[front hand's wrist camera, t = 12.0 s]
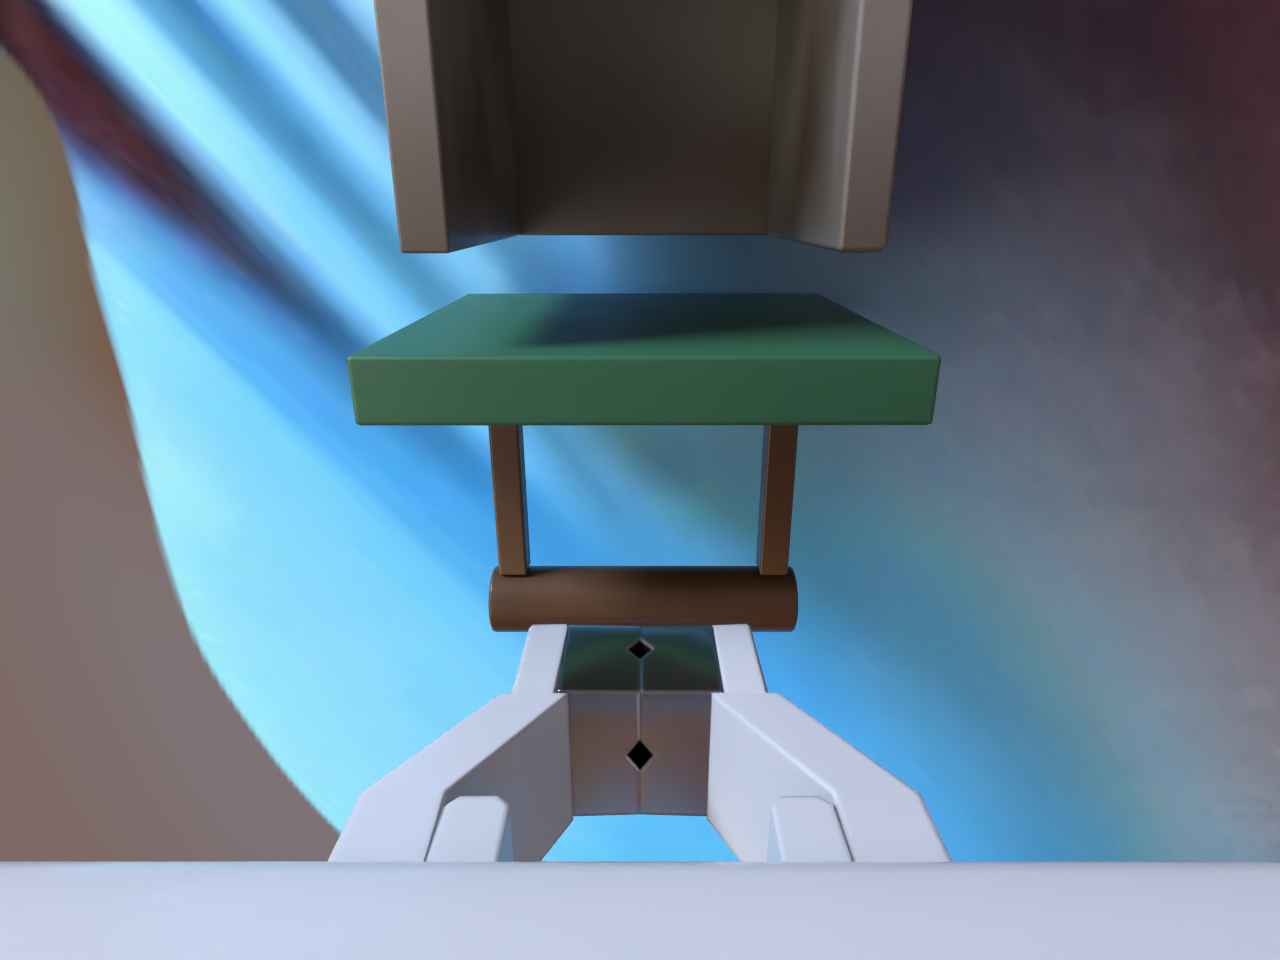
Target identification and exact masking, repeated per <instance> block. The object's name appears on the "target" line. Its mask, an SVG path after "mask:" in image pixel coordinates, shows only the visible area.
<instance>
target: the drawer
mask: <svg viewBox="0 0 1280 960" xmlns="http://www.w3.org/2000/svg"><path fill="white" fill-rule="evenodd" d="M912 9H913V0H374V10H375V19H376V28H377V37H378V47H379V56H380V65H381V75H382V84H383V93H384V103H385V112H386V121H387V130H388V140H389V149H390V158H391V168H392V177H393V186H394V195H395V205H396V214H397V223H398V233H399V242H400V250H401V252H402V253H450V252H454V251H458V250H462V249H466V248H470V247H474V246H478V245H482V244H486V243H490V242H494V241H498V240H502V239H506V238H510V237H514V236H518V235H771V236H775V237H780V238H784V239H788V240H792V241H796V242H801V243H805V244H809V245H813V246H817V247H822V248H826V249H830V250H834V251H838V252H882V251H885V249H886V247H887V240H888V230H889V221H890V212H891V203H892V194H893V184H894V175H895V166H896V157H897V147H898V138H899V129H900V120H901V110H902V101H903V92H904V83H905V73H906V64H907V55H908V46H909V36H910V27H911V18H912ZM940 362H941V359H940V356H939V355H937V354H935V353H933V352H931V351H929V350H927V349H925V348H923V347H921V346H919V345H917V344H915V343H913V342H911V341H909V340H907V339H905V338H903V337H901V336H899V335H897V334H895V333H894V332H892V331H890V330H888V329H886V328H884V327H882V326H880V325H878V324H876V323H874V322H872V321H870V320H868V319H866V318H864V317H862V316H860V315H858V314H856V313H854V312H852V311H850V310H848V309H846V308H844V307H842V306H840V305H838V304H836V303H834V302H832V301H830V300H828V299H826V298H824V297H823V296H821V295H819V294H468V295H466V296H464V297H462V298H460V299H458V300H456V301H454V302H452V303H450V304H449V305H447V306H445V307H443V308H441V309H439V310H437V311H435V312H433V313H431V314H429V315H427V316H425V317H423V318H422V319H420V320H418V321H416V322H414V323H412V324H410V325H408V326H406V327H404V328H402V329H400V330H398V331H396V332H394V333H393V334H391V335H389V336H387V337H385V338H383V339H381V340H379V341H377V342H375V343H373V344H371V345H369V346H367V347H366V348H364V349H362V350H360V351H358V352H356V353H354V354H352V355H350V356H348V359H347V364H348V371H349V378H350V385H351V393H352V400H353V407H354V414H355V421H356V423H357V424H359V425H488V426H489V439H490V453H491V466H492V480H493V493H494V507H495V520H496V534H497V547H498V561H499V566H497V567H495V568H494V570H493V573H492V576H491V581H490V588H489V618H490V623H491V627H492V629H493V630H494V631H496V632H528V630H529V628H530V627H531V626H532V625H537V624H567V625H568V626H569V625H617V626H640V627H649V626H689V625H728V624H748V625H749V626H750V627H751V631H752V632H791V631H793V630H794V629H795V626H796V622H797V616H798V590H797V582H796V577H795V574H794V571H793V569H792V568H791V567H790V566H788V558H789V544H790V531H791V518H792V504H793V491H794V478H795V464H796V451H797V437H798V425H928V424H931V422H932V420H933V413H934V405H935V398H936V391H937V384H938V377H939V369H940ZM522 425H764V436H763V453H762V470H761V487H760V504H759V522H758V539H757V556H756V564H757V566H529V565H530V547H529V530H528V513H527V495H526V478H525V461H524V444H523V426H522Z"/></svg>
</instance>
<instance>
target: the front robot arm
mask: <svg viewBox="0 0 1280 960" xmlns="http://www.w3.org/2000/svg"><path fill="white" fill-rule="evenodd" d="M630 814H648V815H684V816H707V820H708V821H709V822H710V824H711V825H712V826H713V828H714V829H715V830H716V831H717V833H718V834H719V835H720V836H721V838H722V839H723V840H724V842H725V843H726V844H727V845H728V847H729V848H730V849H731V850H732V852H733V853H734V854H735V856H736V857H737V858H738V859H739V861H740V862H540V861H541V860H542V859H543V857H544V856H545V855H546V854H547V852H548V851H549V850H550V849H551V847H552V846H553V845H554V844H555V842H556V841H557V840H558V838H559V837H560V836H561V835H562V833H563V832H564V831H565V830H566V828H567V827H568V826H569V824H570V823H571V822H572V821H573V816H595V815H630ZM0 960H1280V862H952V860H951V858H950V856H949V854H948V851H947V849H946V847H945V845H944V843H943V841H942V839H941V837H940V835H939V833H938V830H937V828H936V826H935V824H934V822H933V820H932V818H931V816H930V814H929V811H928V809H927V807H926V805H925V803H924V801H923V799H922V797H921V795H920V794H919V793H918V792H917V791H915V790H914V789H912V788H911V787H910V786H908V785H907V784H905V783H904V782H903V781H901V780H900V779H898V778H897V777H896V776H894V775H893V774H891V773H890V772H889V771H887V770H886V769H884V768H883V767H882V766H880V765H879V764H877V763H876V762H875V761H873V760H872V759H870V758H869V757H868V756H866V755H865V754H863V753H862V752H861V751H859V750H858V749H856V748H855V747H854V746H852V745H851V744H849V743H848V742H847V741H845V740H844V739H842V738H841V737H840V736H838V735H837V734H835V733H834V732H833V731H831V730H830V729H828V728H827V727H826V726H824V725H823V724H821V723H820V722H819V721H817V720H816V719H814V718H813V717H812V716H810V715H809V714H807V713H806V712H805V711H803V710H802V709H800V708H799V707H798V706H796V705H795V704H793V703H792V702H791V701H789V700H788V699H786V698H785V697H783V696H782V695H781V694H779V693H768V690H767V687H766V683H765V679H764V676H763V672H762V668H761V664H760V661H759V657H758V653H757V650H756V646H755V642H754V638H753V635H752V631H751V627H750V626H749V625H748V624H728V625H689V626H649V627H640V626H617V625H569V626H568V625H567V624H537V625H532V626H531V627H530V628H529V630H528V634H527V638H526V641H525V645H524V649H523V653H522V656H521V660H520V664H519V668H518V672H517V675H516V679H515V683H514V687H513V690H512V693H501V694H499V695H498V696H497V697H495V698H494V699H492V700H491V701H490V702H488V703H487V704H485V705H484V706H482V707H481V708H480V709H478V710H477V711H475V712H474V713H473V714H471V715H470V716H468V717H467V718H466V719H464V720H463V721H461V722H460V723H459V724H457V725H456V726H454V727H453V728H451V729H450V730H449V731H447V732H446V733H444V734H443V735H442V736H440V737H439V738H437V739H436V740H435V741H433V742H432V743H430V744H429V745H428V746H426V747H425V748H423V749H422V750H420V751H419V752H418V753H416V754H415V755H413V756H412V757H411V758H409V759H408V760H406V761H405V762H404V763H402V764H401V765H399V766H398V767H397V768H395V769H394V770H392V771H391V772H390V773H388V774H387V775H385V776H384V777H382V778H381V779H380V780H378V781H377V782H375V783H374V784H373V785H371V786H370V787H368V788H367V789H366V790H364V791H363V792H361V794H360V796H359V798H358V800H357V802H356V804H355V806H354V808H353V810H352V812H351V814H350V816H349V818H348V820H347V823H346V825H345V827H344V829H343V831H342V833H341V835H340V837H339V839H338V841H337V843H336V845H335V847H334V849H333V852H332V854H331V856H330V858H329V860H328V862H0Z"/></svg>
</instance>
